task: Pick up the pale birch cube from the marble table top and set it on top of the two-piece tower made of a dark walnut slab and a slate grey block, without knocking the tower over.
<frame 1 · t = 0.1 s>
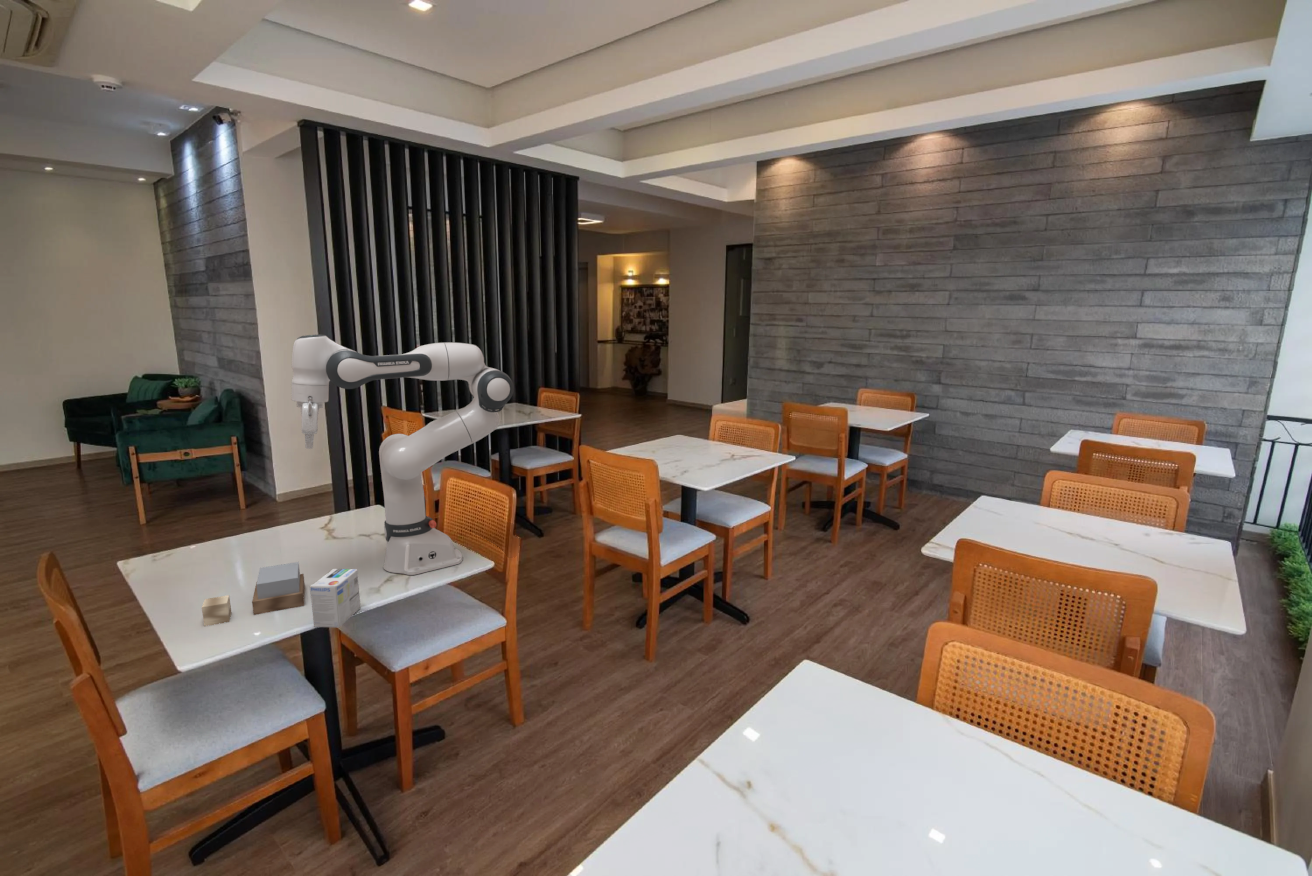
hand: (309, 445, 171), 39 cm above the table, tool pointing down, fingers open, 8 cm apart
birch cube: (218, 620, 154), on the table
walnut base slab: (280, 601, 165), on the table, touching slate grey block
light bulb box: (338, 618, 156), on the table
slate grey block: (280, 587, 165), point 3 cm above the table, touching walnut base slab
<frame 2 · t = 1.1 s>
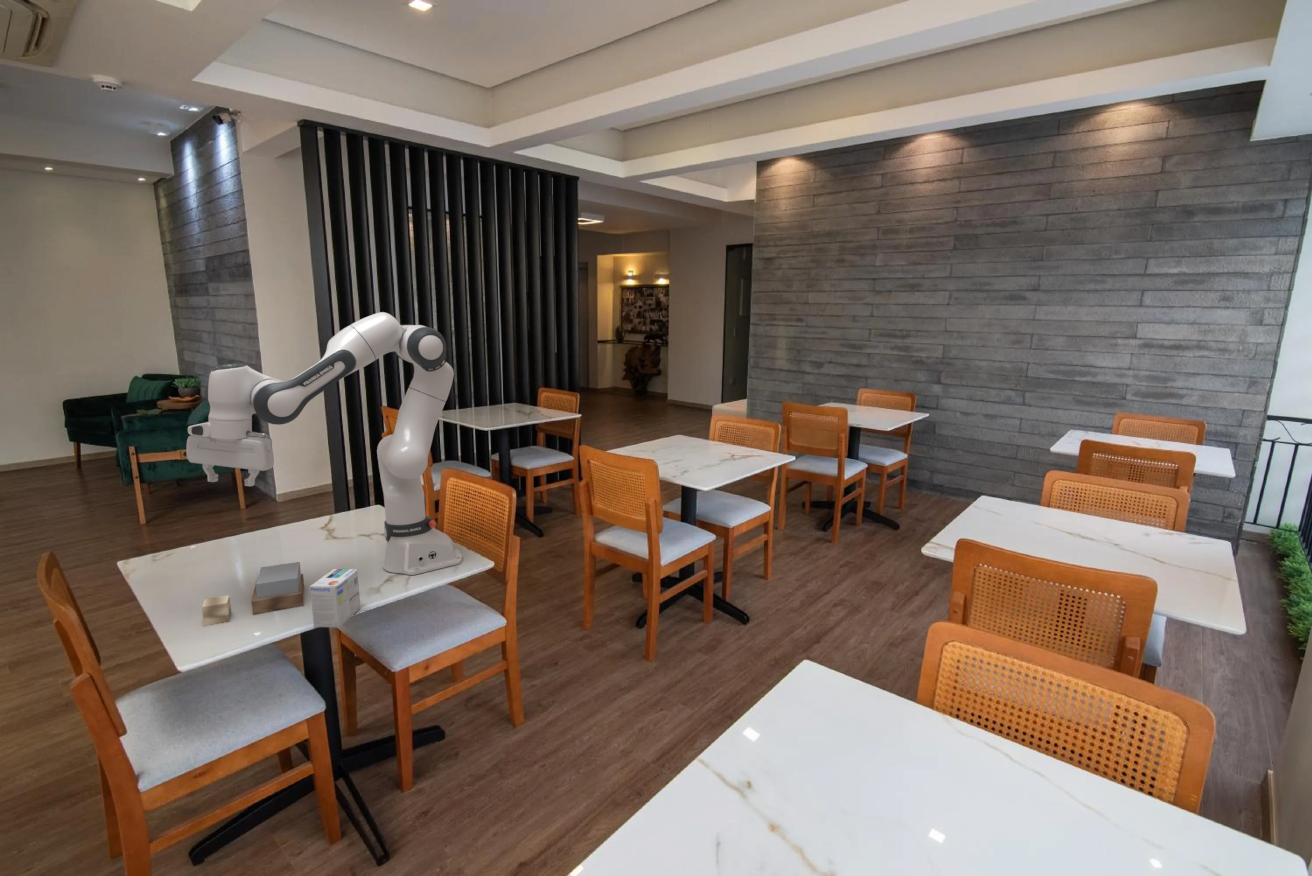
hand: (231, 483, 157), 32 cm above the table, tool pointing down, fingers open, 8 cm apart
nothing on the table moved.
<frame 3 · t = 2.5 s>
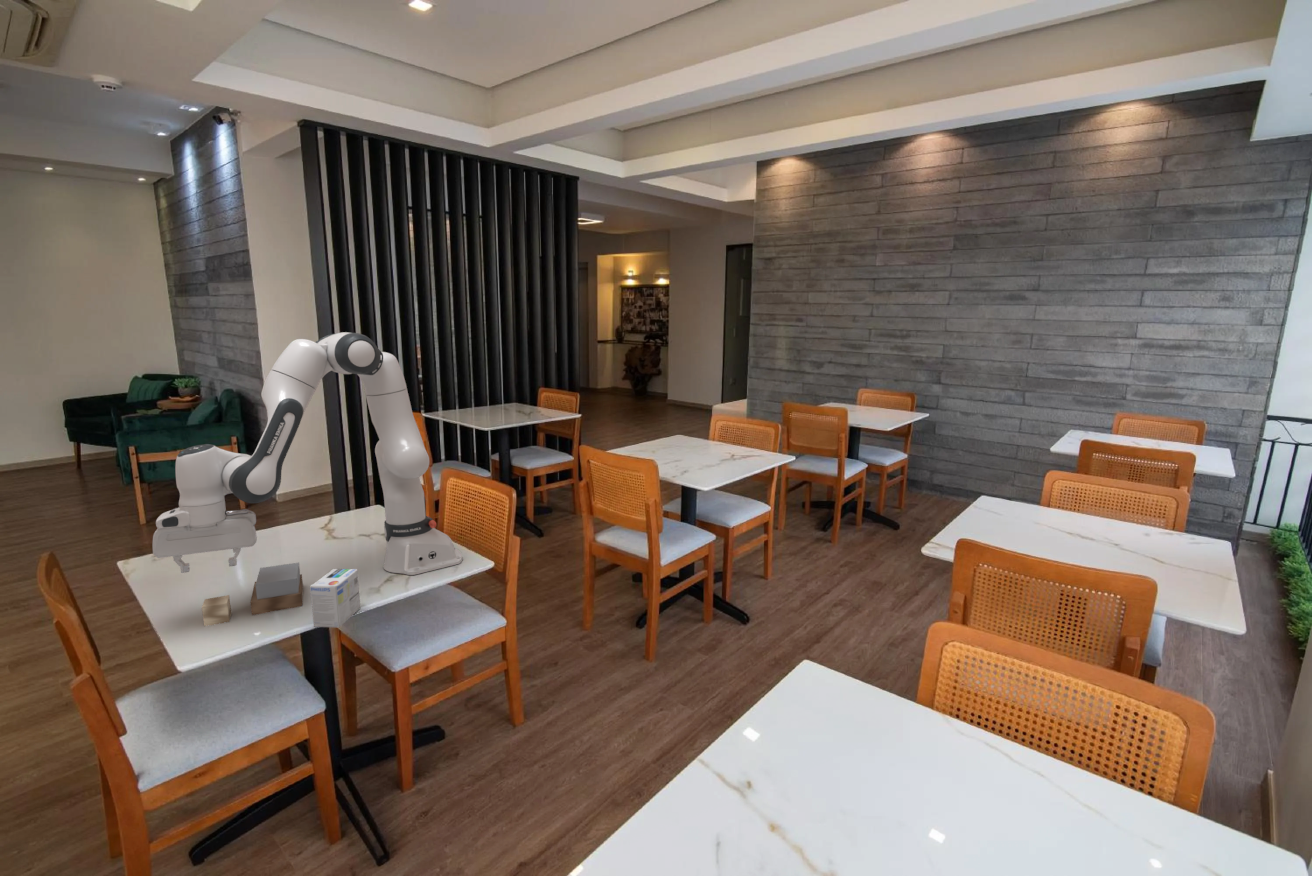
hand: (209, 568, 151), 13 cm above the table, tool pointing down, fingers open, 8 cm apart
nothing on the table moved.
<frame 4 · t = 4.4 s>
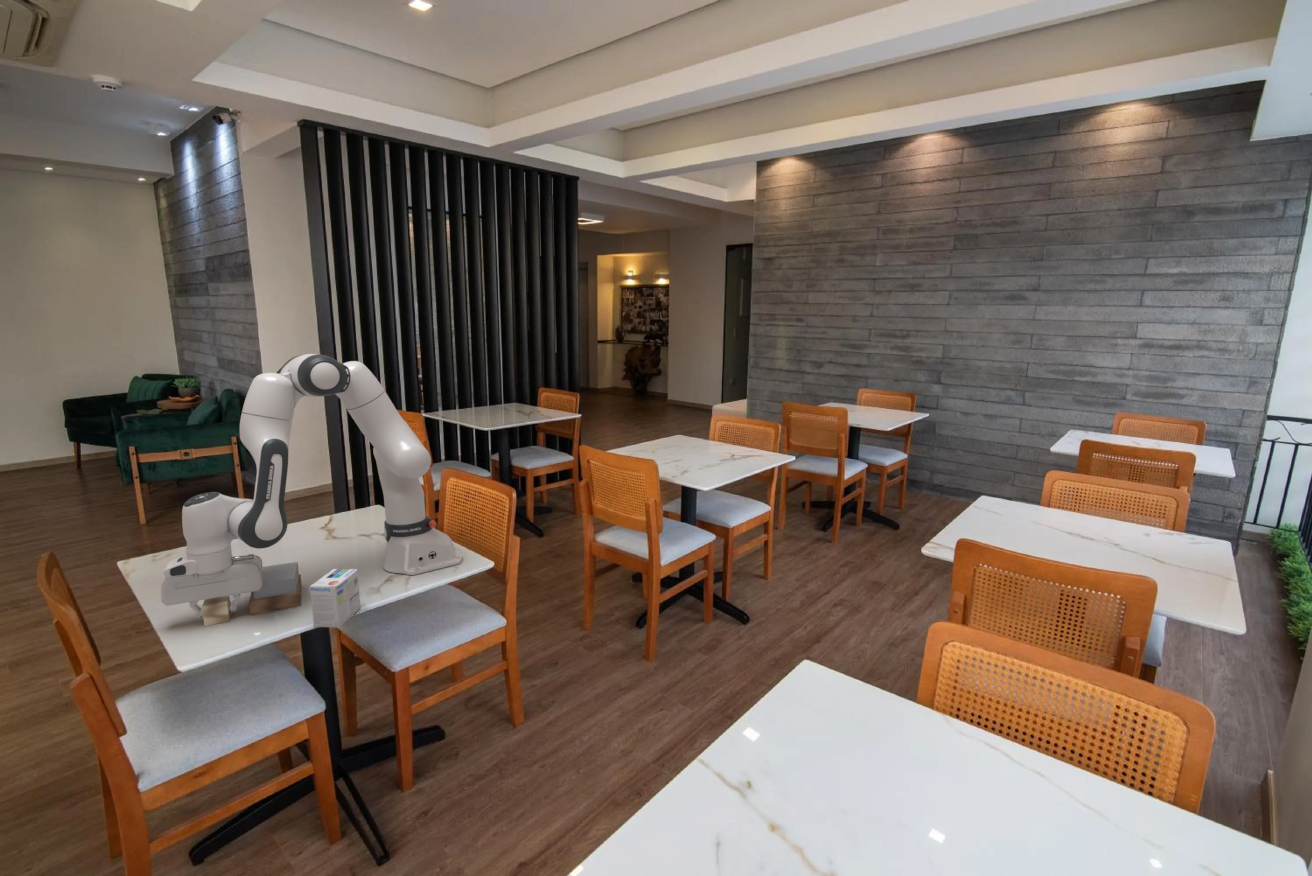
hand: (217, 613, 154), 2 cm above the table, tool pointing down, fingers closed on birch cube, 5 cm apart
birch cube: (218, 619, 154), on the table, touching gripper
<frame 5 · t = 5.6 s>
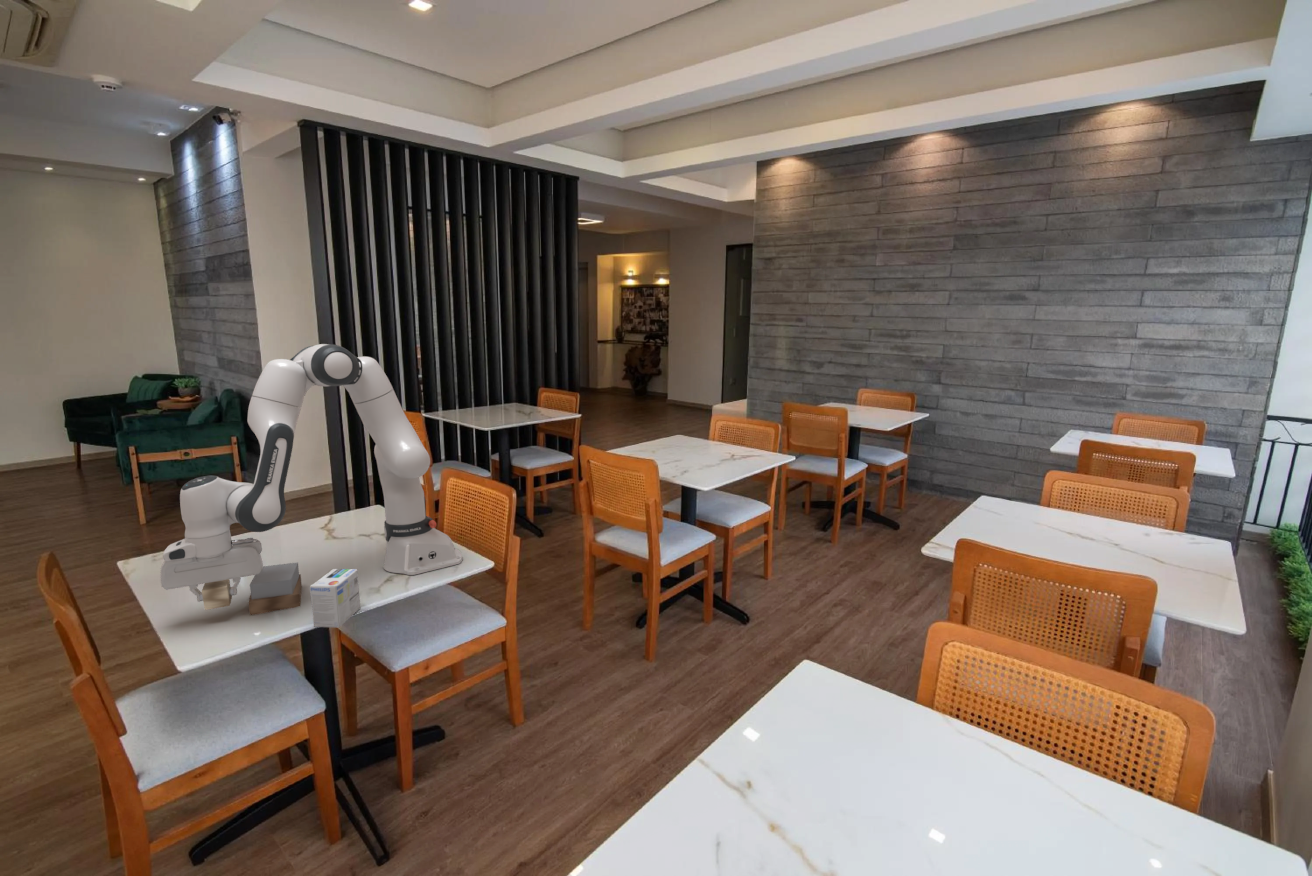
hand: (217, 597, 153), 6 cm above the table, tool pointing down, fingers closed on birch cube, 5 cm apart
birch cube: (218, 603, 154), point 4 cm above the table, touching gripper
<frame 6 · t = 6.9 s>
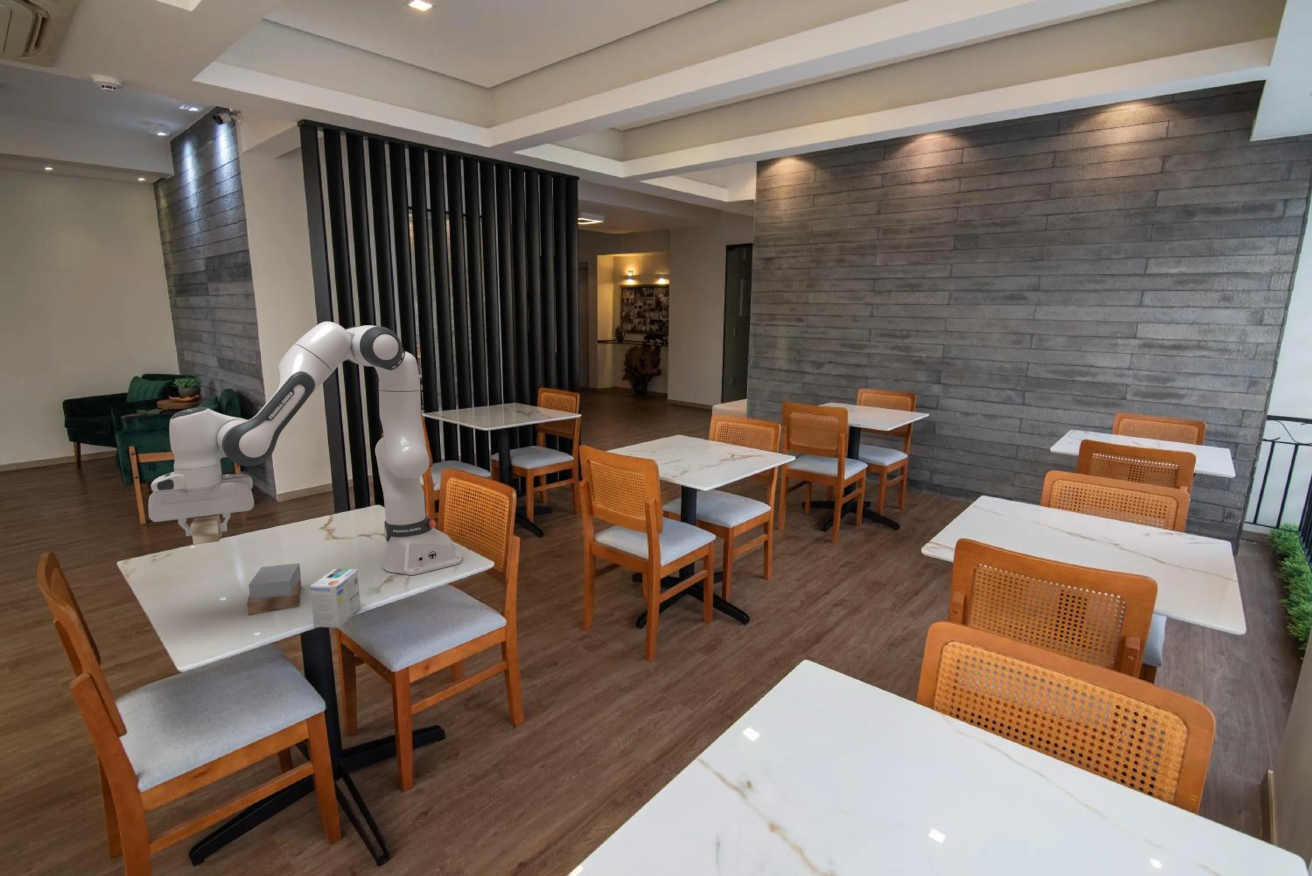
hand: (207, 533, 150), 22 cm above the table, tool pointing down, fingers closed on birch cube, 5 cm apart
birch cube: (208, 539, 150), point 21 cm above the table, touching gripper
everything else where it was.
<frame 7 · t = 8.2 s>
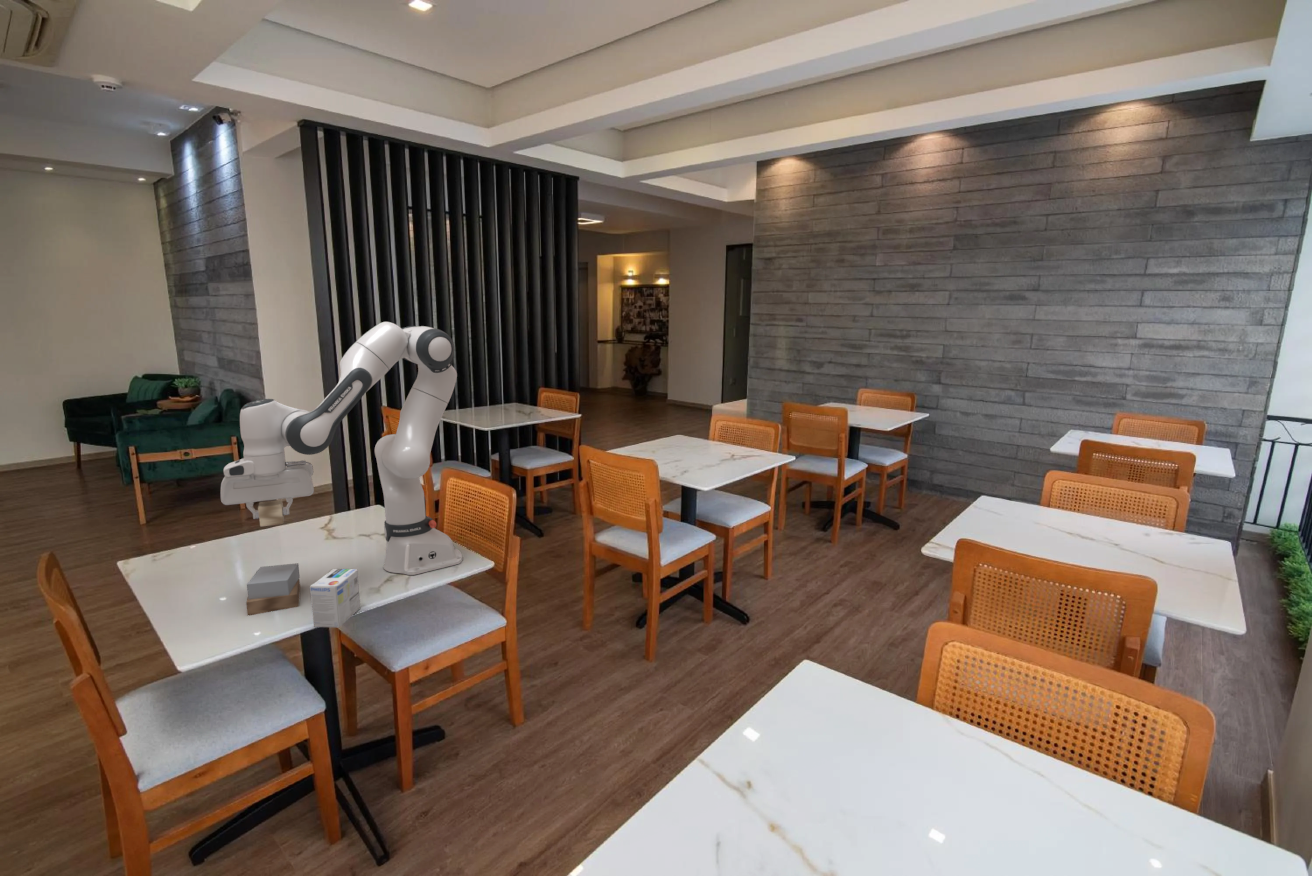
hand: (271, 516, 161), 23 cm above the table, tool pointing down, fingers closed on birch cube, 5 cm apart
birch cube: (272, 522, 161), point 21 cm above the table, touching gripper
when the fingers open (11 cm above the table, at t = 11.2 s): birch cube drops 2 cm, point 7 cm above the table.
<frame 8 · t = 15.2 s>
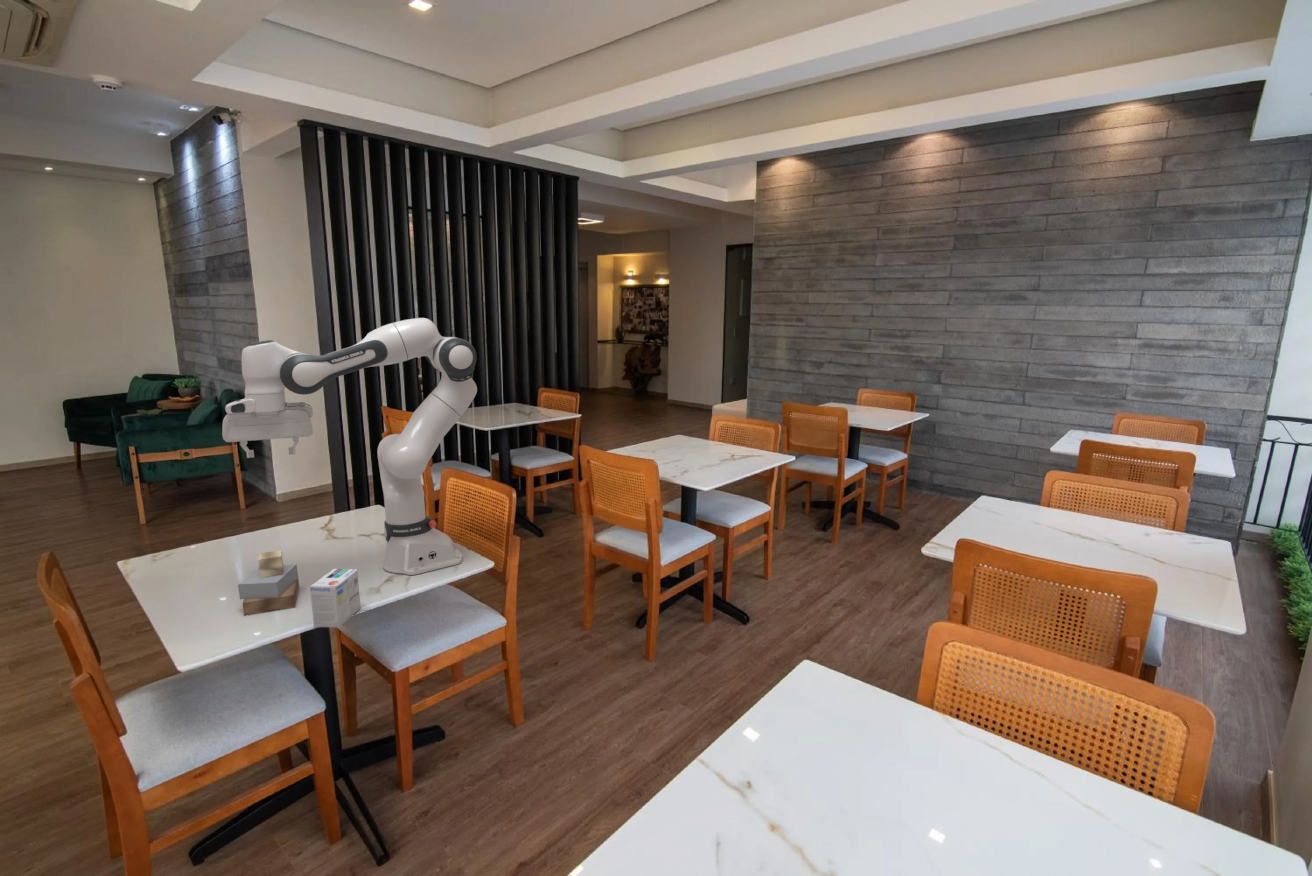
hand: (271, 455, 166), 37 cm above the table, tool pointing down, fingers open, 8 cm apart
birch cube: (272, 573, 164), point 7 cm above the table
walnut base slab: (273, 602, 165), on the table
slate grey block: (270, 588, 164), point 3 cm above the table
everything else where it was.
at the end: birch cube inside the target area on the slate grey block (0.8 cm from its centre), point 4.0 cm above the slate grey block's base; birch cube tilted 0°; slate grey block 0.4 cm from the walnut base slab (horizontally) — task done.
